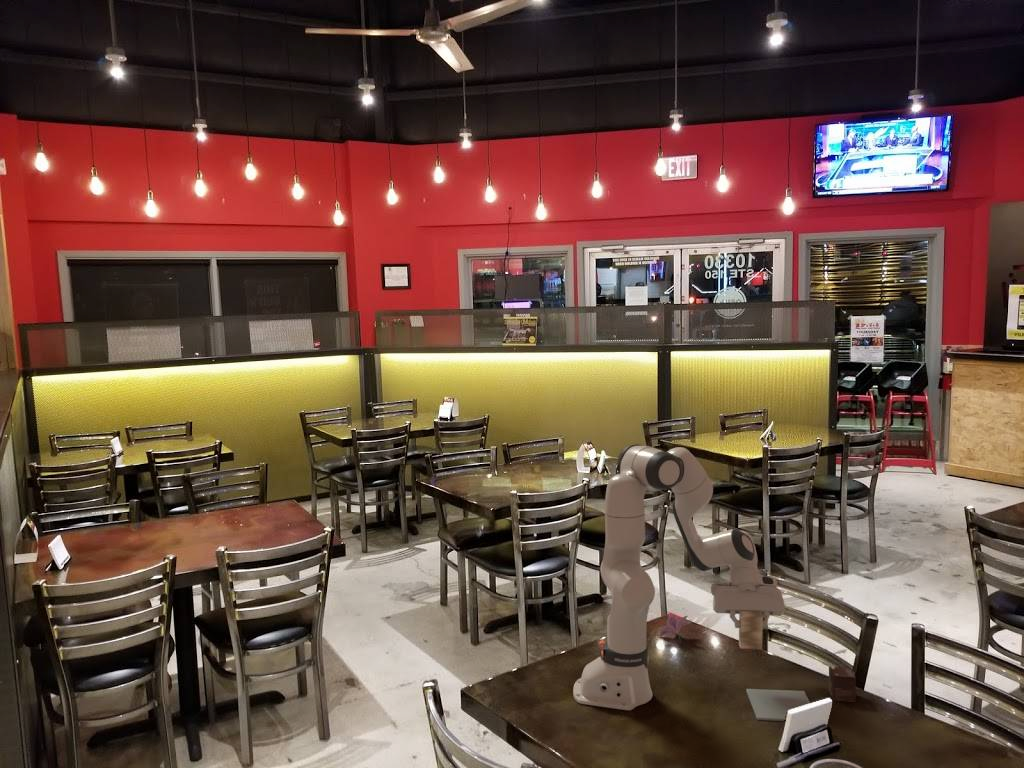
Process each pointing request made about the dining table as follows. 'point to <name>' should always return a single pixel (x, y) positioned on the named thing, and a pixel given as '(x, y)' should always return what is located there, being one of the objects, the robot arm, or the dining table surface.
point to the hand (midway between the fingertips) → (751, 627)
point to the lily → (674, 625)
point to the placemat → (775, 702)
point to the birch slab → (750, 630)
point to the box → (842, 684)
